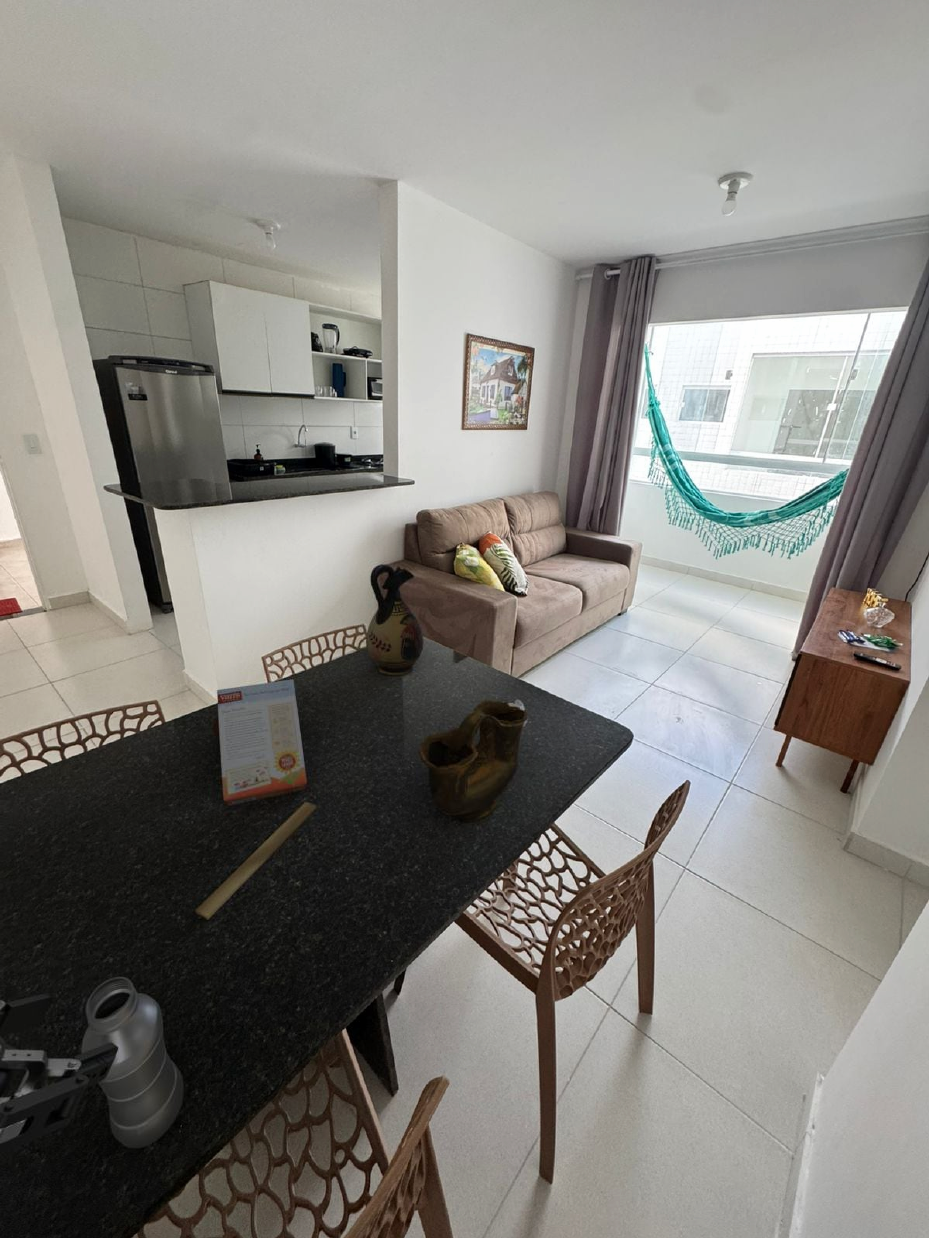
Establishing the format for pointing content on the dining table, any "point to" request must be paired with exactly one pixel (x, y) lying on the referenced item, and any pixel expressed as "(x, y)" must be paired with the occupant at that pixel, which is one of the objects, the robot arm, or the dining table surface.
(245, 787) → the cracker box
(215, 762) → the dining table surface
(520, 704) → the elephant figurine
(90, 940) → the dining table surface
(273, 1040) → the dining table surface
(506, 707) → the pottery vessel
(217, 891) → the strip
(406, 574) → the ceramic jug
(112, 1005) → the plastic bottle
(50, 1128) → the robot arm
